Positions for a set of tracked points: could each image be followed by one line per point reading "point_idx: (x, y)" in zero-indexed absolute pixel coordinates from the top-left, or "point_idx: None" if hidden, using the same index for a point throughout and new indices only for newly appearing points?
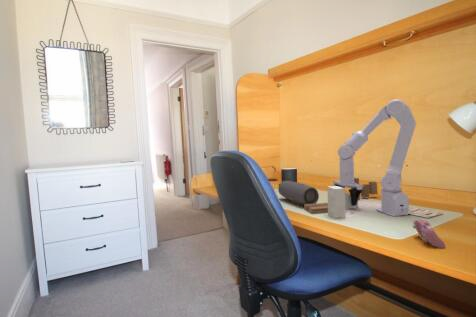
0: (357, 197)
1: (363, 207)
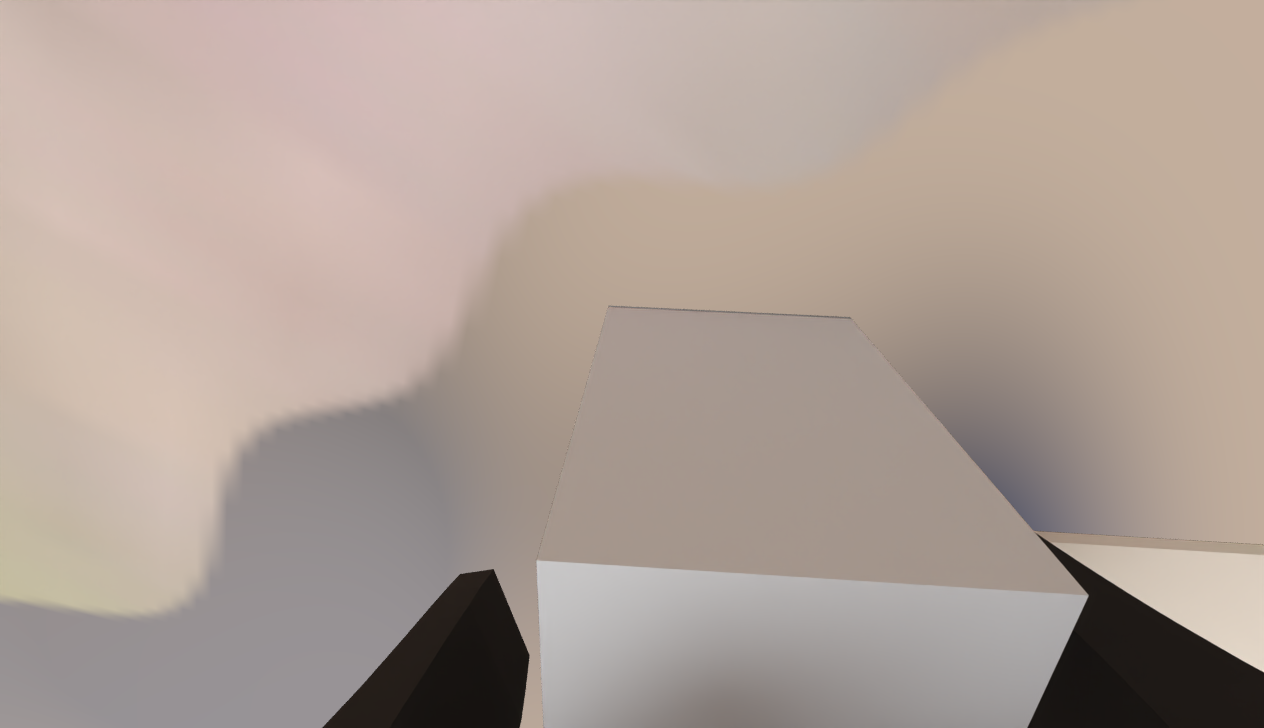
0: (1220, 700)
1: (854, 135)
